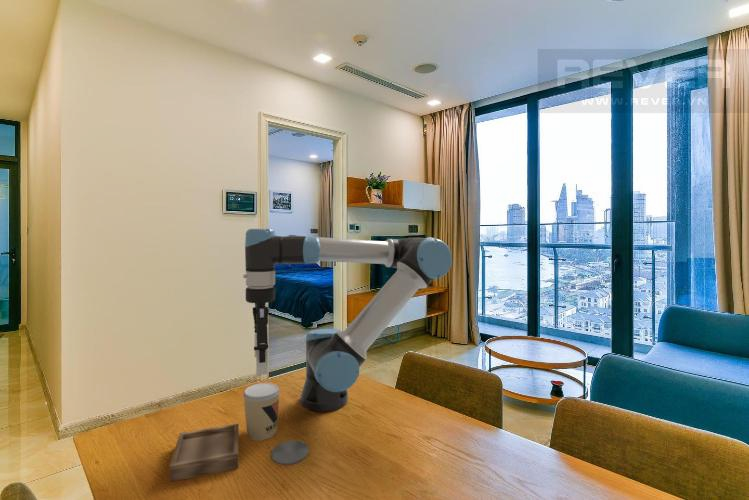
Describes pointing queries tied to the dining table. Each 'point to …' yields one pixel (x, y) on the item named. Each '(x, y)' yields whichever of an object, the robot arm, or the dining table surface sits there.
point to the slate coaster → (289, 452)
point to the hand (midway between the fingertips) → (260, 364)
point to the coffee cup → (261, 410)
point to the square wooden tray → (205, 452)
